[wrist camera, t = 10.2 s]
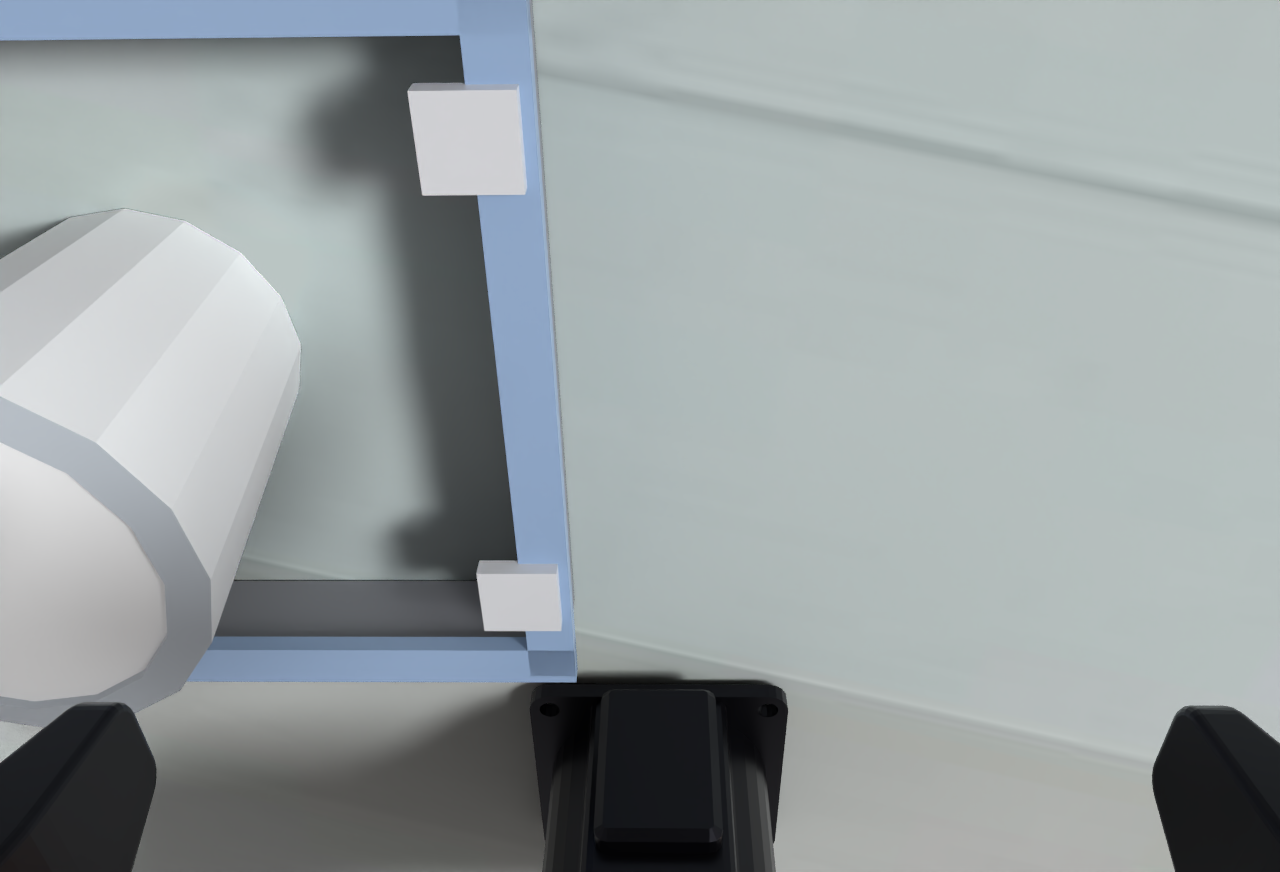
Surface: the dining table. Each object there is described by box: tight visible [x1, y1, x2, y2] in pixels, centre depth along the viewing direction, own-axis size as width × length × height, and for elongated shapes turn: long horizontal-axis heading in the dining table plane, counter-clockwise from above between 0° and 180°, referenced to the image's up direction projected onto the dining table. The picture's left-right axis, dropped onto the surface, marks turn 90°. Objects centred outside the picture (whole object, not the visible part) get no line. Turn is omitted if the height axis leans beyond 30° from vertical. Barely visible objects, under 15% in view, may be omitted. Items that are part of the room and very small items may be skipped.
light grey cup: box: [0, 208, 301, 727], centre depth 18 cm, size 7×7×7 cm
